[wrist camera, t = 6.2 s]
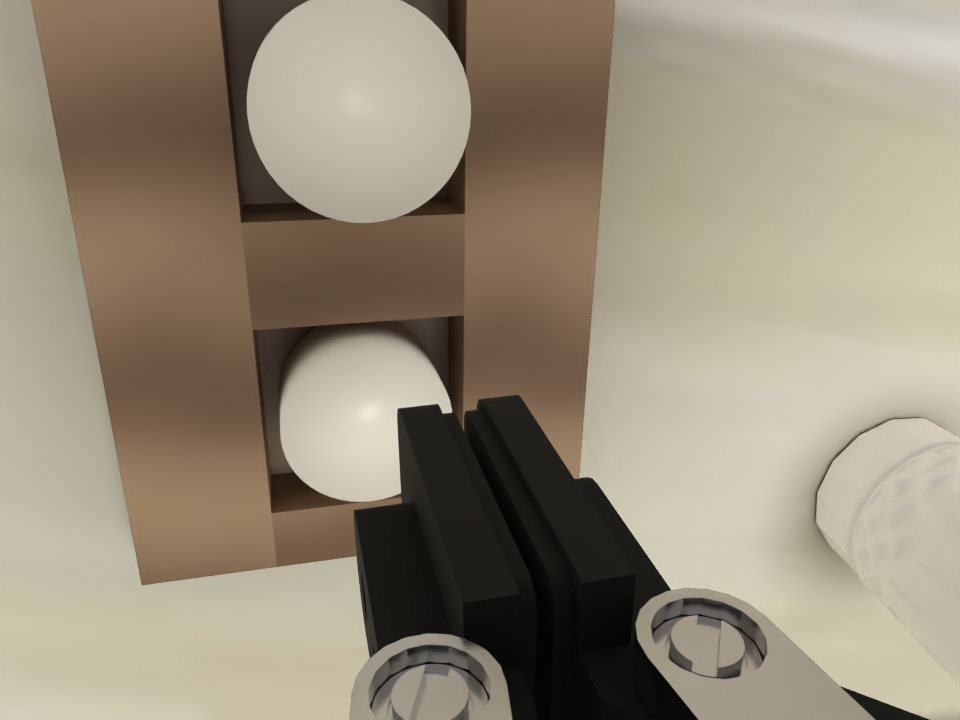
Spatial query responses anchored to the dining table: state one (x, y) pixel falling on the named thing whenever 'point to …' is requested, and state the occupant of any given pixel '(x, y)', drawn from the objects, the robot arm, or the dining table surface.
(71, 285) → the dining table surface
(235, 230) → the button board
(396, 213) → the button mid
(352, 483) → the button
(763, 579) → the dining table surface
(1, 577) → the dining table surface
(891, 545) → the white cup
